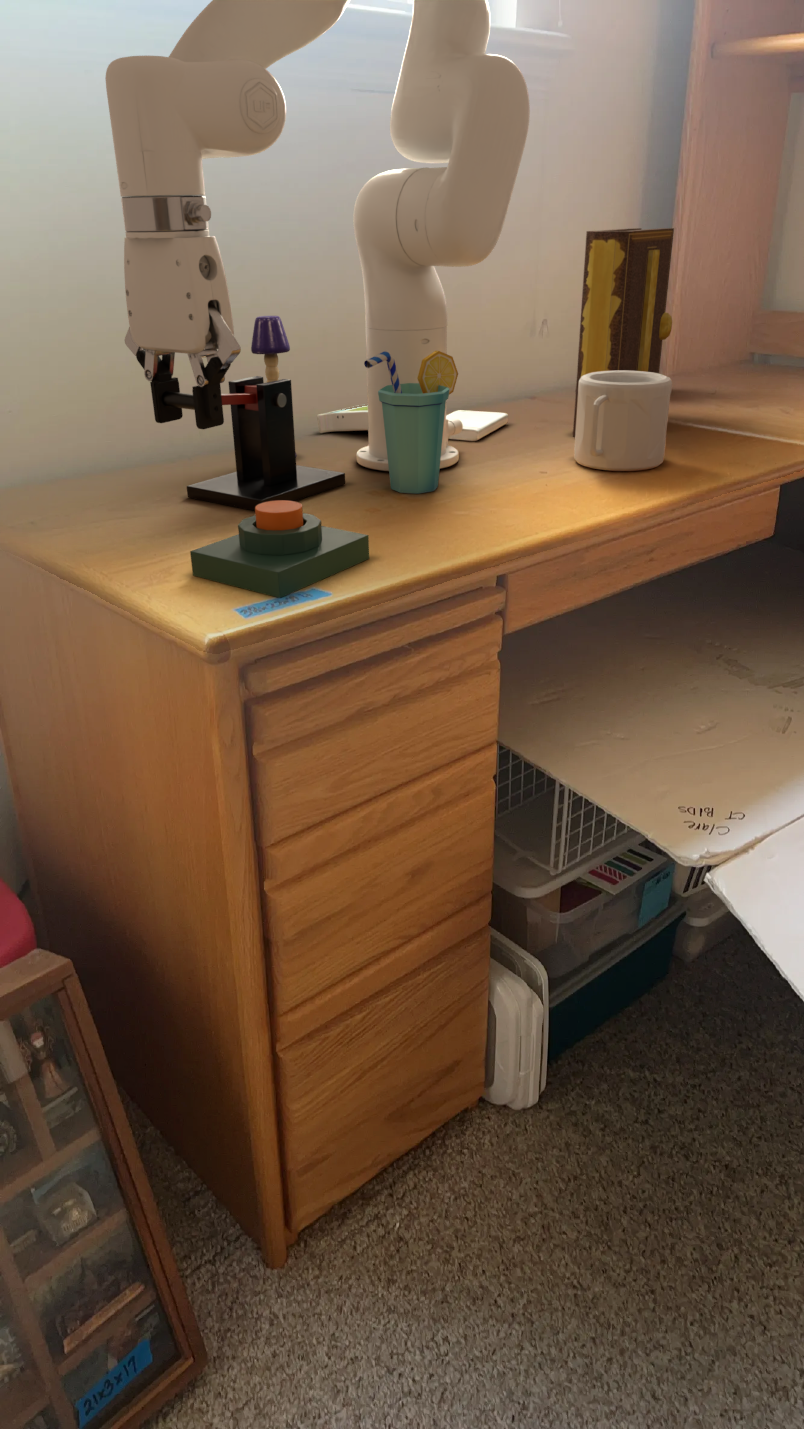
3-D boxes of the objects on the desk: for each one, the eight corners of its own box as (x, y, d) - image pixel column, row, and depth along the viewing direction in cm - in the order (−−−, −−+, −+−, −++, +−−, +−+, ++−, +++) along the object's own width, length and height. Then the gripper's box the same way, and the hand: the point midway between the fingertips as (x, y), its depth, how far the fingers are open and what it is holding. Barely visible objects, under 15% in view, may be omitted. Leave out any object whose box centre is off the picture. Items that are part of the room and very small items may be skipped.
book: (621, 441, 130) (639, 231, 119) (560, 435, 134) (572, 231, 123) (667, 413, 147) (687, 227, 136) (612, 409, 151) (627, 227, 140)
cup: (399, 508, 102) (397, 356, 96) (342, 497, 107) (336, 351, 100) (473, 481, 112) (476, 341, 105) (418, 472, 116) (418, 337, 110)
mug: (596, 448, 126) (602, 367, 122) (676, 458, 121) (686, 373, 116) (547, 470, 117) (552, 382, 112) (633, 481, 111) (641, 389, 107)
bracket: (262, 512, 102) (252, 394, 96) (187, 497, 107) (174, 385, 102) (345, 484, 112) (341, 375, 106) (273, 471, 118) (266, 368, 112)
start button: (278, 517, 87) (276, 497, 86) (312, 524, 85) (311, 504, 84) (246, 528, 84) (245, 508, 83) (282, 535, 82) (280, 515, 81)
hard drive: (455, 409, 144) (421, 424, 134) (508, 412, 141) (478, 428, 131) (455, 421, 145) (421, 436, 135) (508, 424, 142) (477, 441, 132)
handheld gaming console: (400, 409, 128) (315, 412, 137) (403, 431, 129) (318, 433, 138) (449, 397, 136) (365, 401, 145) (451, 418, 137) (368, 421, 146)
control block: (285, 540, 93) (282, 498, 91) (369, 558, 88) (368, 514, 86) (192, 575, 84) (187, 530, 83) (280, 598, 79) (276, 550, 77)
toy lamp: (253, 460, 123) (241, 317, 116) (271, 452, 127) (260, 313, 119) (286, 463, 122) (277, 318, 114) (304, 455, 125) (295, 314, 118)
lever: (197, 416, 95) (196, 390, 94) (161, 411, 98) (160, 386, 97) (287, 411, 105) (287, 387, 104) (253, 407, 108) (252, 384, 107)
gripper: (263, 217, 88) (279, 425, 96) (134, 219, 97) (159, 409, 105) (202, 220, 82) (224, 440, 91) (72, 221, 91) (103, 421, 100)
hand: (189, 421), depth 98 cm, fingers closed on lever, 5 cm apart
